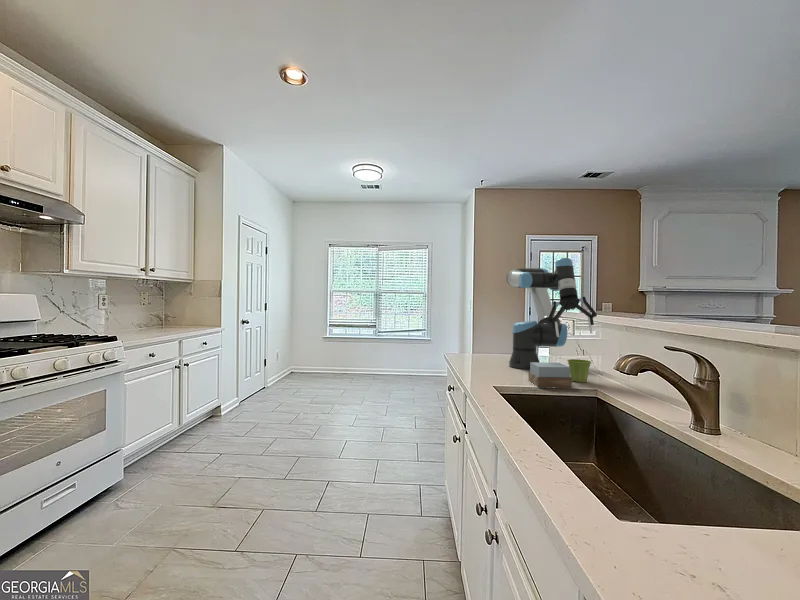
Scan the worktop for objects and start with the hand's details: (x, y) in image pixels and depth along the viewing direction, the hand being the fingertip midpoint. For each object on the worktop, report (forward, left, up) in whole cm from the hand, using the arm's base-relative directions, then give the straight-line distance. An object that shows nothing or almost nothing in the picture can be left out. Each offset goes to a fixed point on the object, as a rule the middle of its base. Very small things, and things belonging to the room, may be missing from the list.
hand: (574, 334), depth 181 cm
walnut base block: (+14, -15, -20) cm, 29 cm away
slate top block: (+14, -15, -15) cm, 26 cm away
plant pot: (+6, 0, -19) cm, 20 cm away
